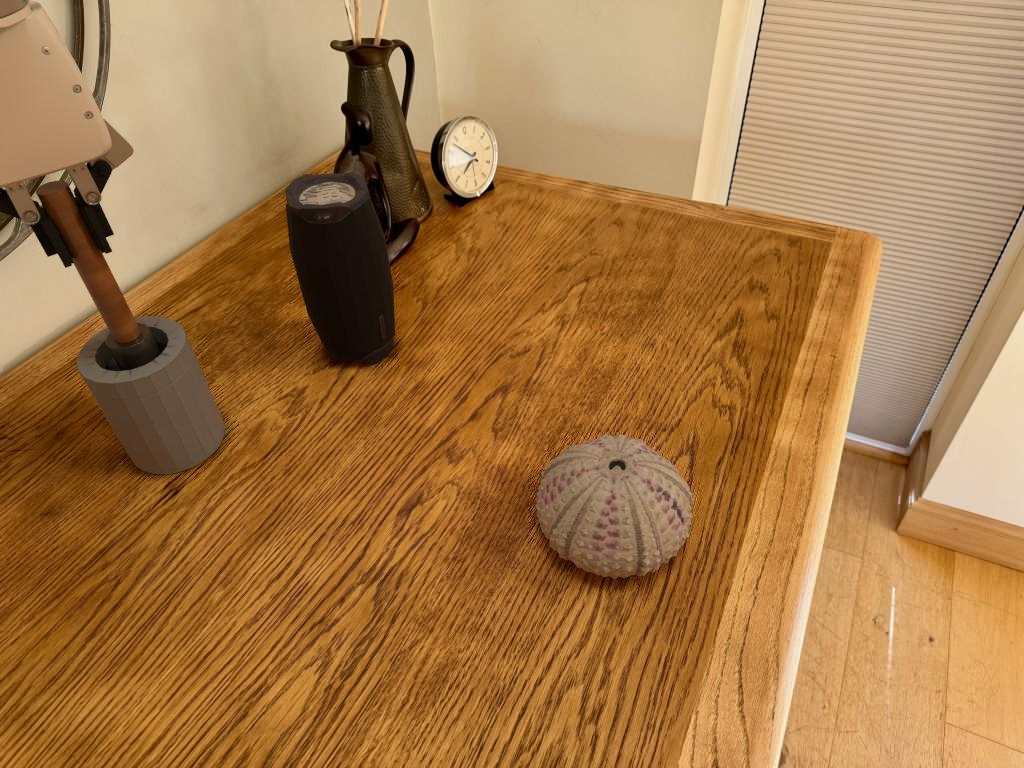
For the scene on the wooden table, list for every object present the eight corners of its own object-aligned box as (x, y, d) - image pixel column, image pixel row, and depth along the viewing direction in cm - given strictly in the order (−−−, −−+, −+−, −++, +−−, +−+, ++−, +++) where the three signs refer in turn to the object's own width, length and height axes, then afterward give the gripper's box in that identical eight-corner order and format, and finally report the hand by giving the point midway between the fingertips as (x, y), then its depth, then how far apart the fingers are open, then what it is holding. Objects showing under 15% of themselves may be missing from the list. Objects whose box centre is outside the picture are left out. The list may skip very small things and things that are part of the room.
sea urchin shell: (643, 448, 70) (652, 388, 64) (719, 562, 60) (738, 502, 55) (513, 488, 66) (511, 428, 61) (573, 614, 57) (576, 557, 52)
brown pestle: (116, 381, 64) (13, 198, 52) (136, 355, 67) (44, 175, 55) (153, 384, 64) (59, 200, 52) (173, 357, 66) (88, 176, 54)
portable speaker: (308, 340, 83) (263, 182, 69) (382, 312, 86) (354, 157, 73) (336, 383, 77) (294, 221, 64) (415, 351, 81) (390, 191, 67)
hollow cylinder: (112, 470, 69) (54, 378, 61) (158, 404, 76) (111, 313, 67) (200, 478, 68) (154, 386, 60) (239, 411, 75) (202, 319, 66)
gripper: (75, -40, 50) (170, 201, 62) (-207, 10, 43) (-36, 268, 56) (105, -18, 45) (201, 237, 58) (-205, 42, 39) (-20, 315, 51)
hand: (84, 250), depth 57 cm, fingers closed on brown pestle, 2 cm apart
